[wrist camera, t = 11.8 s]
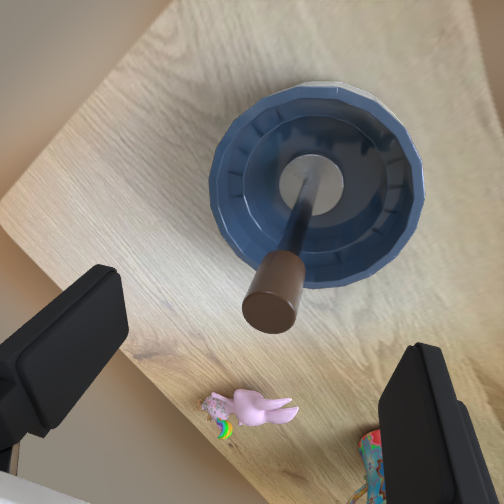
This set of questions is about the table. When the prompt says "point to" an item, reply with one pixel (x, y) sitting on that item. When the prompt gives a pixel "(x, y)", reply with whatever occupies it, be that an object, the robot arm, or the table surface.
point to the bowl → (355, 180)
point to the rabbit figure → (245, 410)
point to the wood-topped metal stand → (292, 241)
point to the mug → (371, 470)
